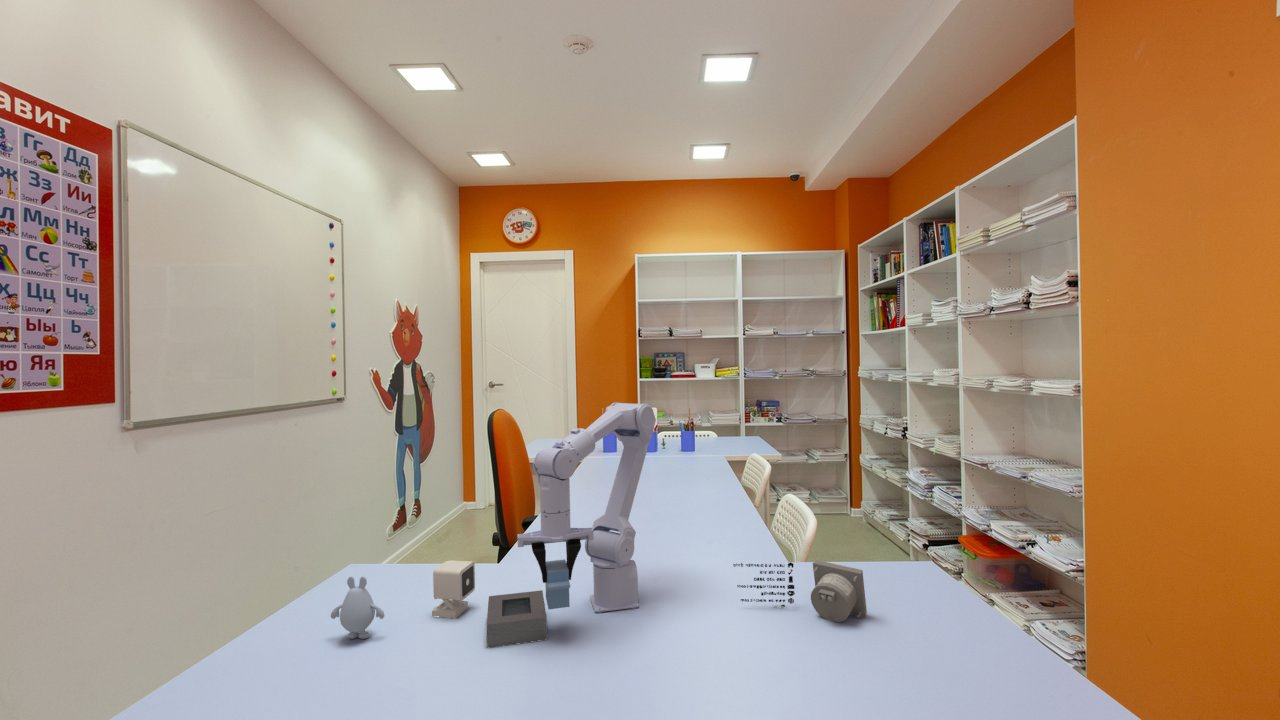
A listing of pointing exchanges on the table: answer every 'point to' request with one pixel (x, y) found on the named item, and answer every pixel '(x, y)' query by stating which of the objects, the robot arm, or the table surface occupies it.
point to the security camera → (453, 587)
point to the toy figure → (357, 610)
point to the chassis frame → (516, 618)
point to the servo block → (557, 584)
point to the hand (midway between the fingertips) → (556, 579)
